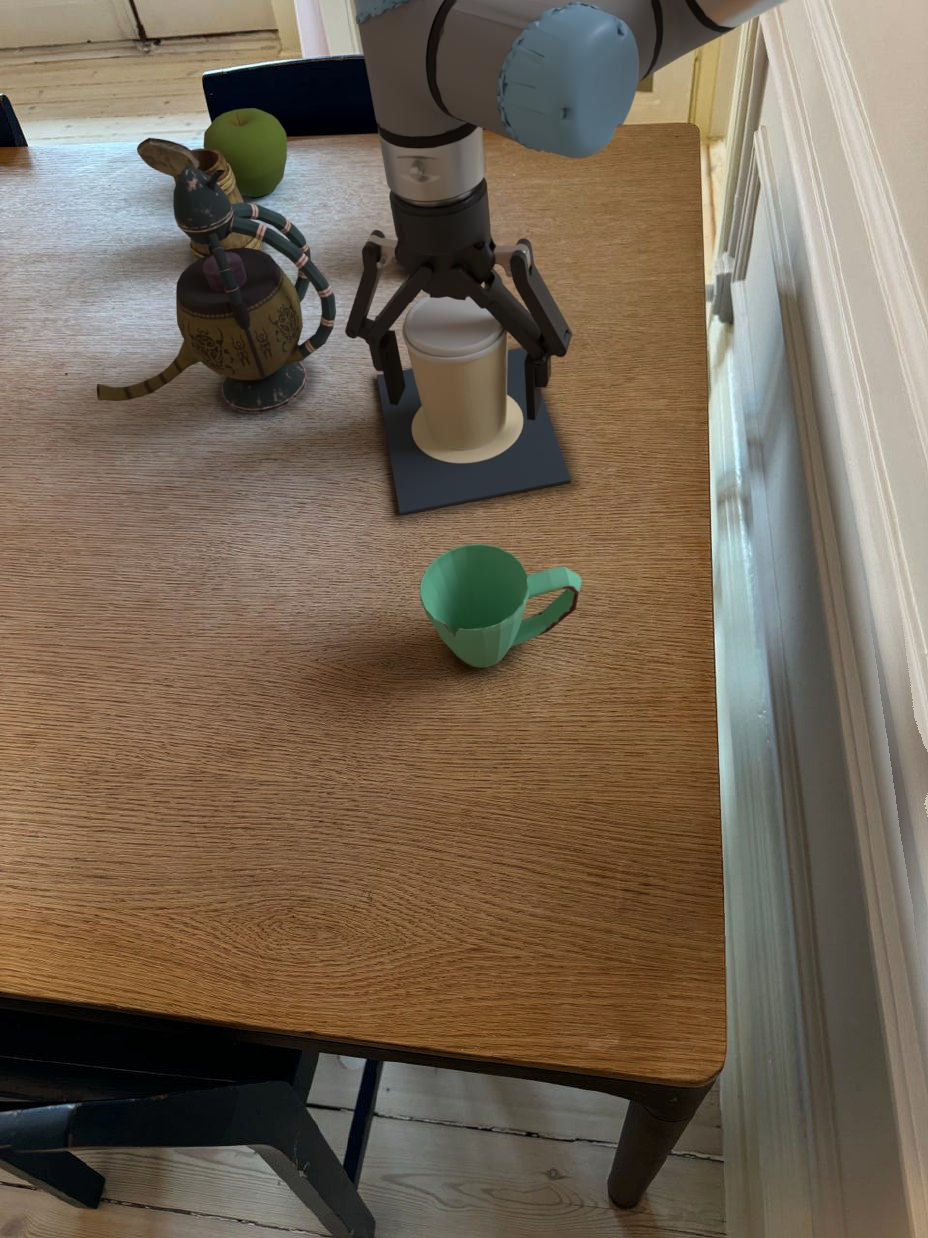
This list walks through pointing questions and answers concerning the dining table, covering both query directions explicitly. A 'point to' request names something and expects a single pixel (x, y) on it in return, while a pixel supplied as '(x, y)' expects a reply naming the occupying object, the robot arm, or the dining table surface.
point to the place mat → (476, 474)
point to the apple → (250, 148)
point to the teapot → (240, 302)
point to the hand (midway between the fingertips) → (464, 403)
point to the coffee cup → (458, 370)
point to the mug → (491, 601)
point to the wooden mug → (208, 160)
